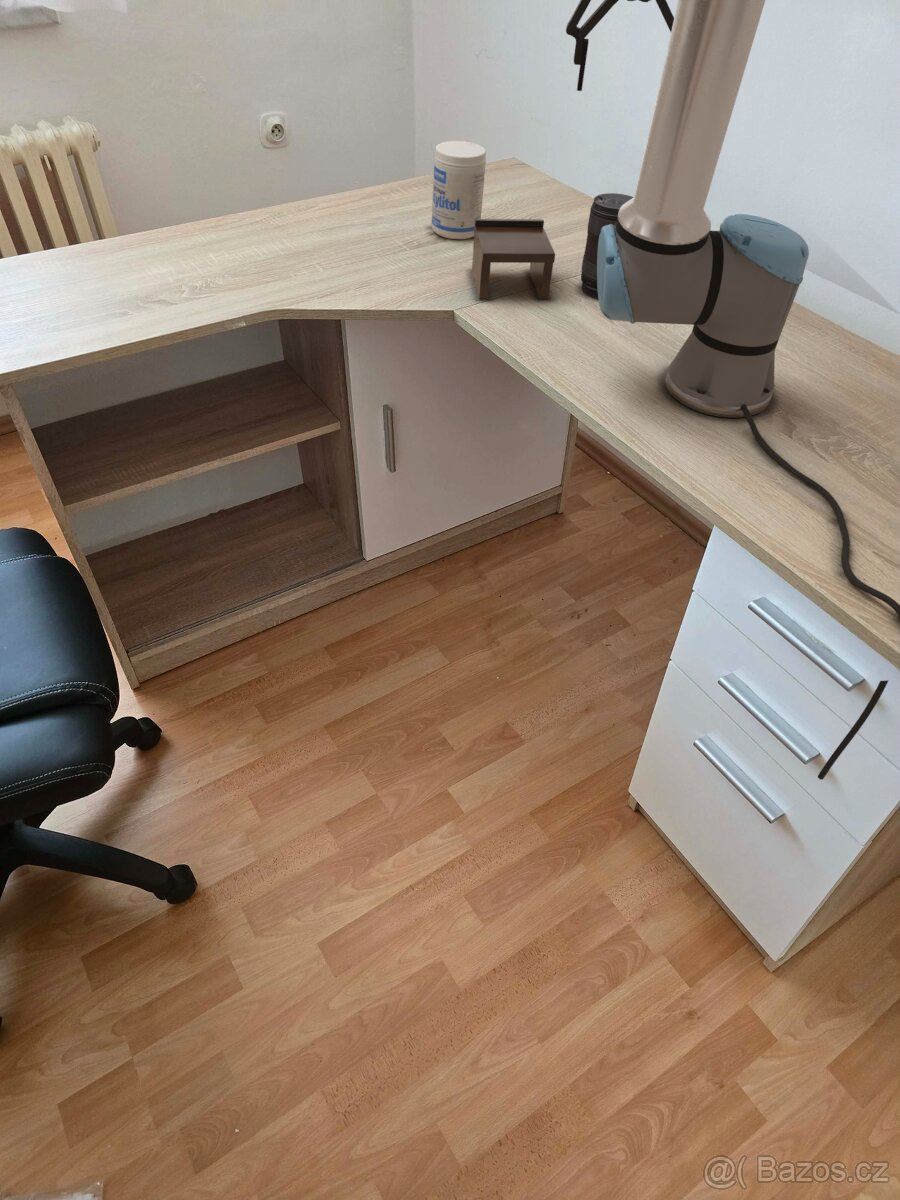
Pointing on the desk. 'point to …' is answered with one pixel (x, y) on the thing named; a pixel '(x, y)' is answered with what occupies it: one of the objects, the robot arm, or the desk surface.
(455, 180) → the supplement tub
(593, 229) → the camera lens
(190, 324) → the desk surface
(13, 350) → the desk surface
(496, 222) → the block
